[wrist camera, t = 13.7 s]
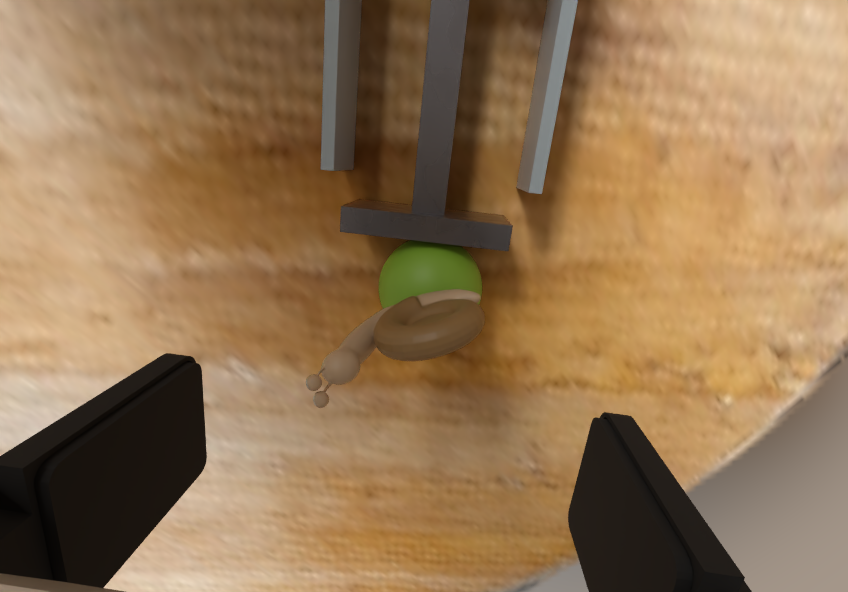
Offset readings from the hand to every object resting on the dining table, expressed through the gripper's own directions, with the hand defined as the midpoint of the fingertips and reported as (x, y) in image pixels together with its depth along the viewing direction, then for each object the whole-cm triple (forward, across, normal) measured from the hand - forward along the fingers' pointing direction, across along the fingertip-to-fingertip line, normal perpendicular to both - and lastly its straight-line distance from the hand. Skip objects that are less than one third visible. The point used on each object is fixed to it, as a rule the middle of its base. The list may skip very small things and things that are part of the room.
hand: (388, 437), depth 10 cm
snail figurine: (+16, 0, 0) cm, 16 cm away
